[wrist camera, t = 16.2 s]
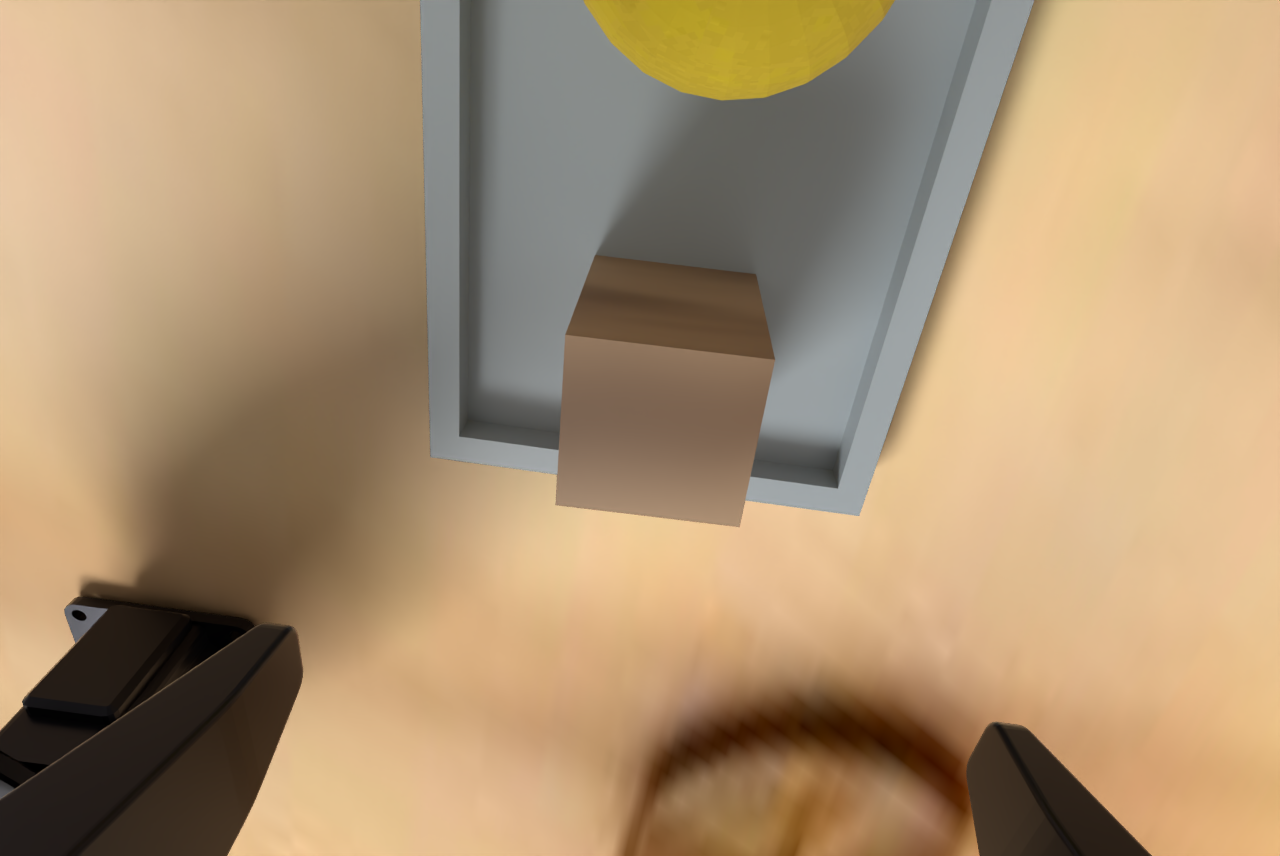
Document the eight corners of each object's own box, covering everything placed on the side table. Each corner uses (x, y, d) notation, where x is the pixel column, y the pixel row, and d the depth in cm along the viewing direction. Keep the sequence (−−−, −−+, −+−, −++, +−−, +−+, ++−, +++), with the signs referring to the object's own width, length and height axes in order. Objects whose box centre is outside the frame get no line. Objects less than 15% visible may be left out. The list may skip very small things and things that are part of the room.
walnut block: (729, 414, 20) (739, 527, 16) (584, 397, 21) (555, 504, 16) (755, 273, 18) (775, 360, 14) (595, 254, 18) (565, 334, 14)
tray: (849, 485, 22) (859, 515, 21) (446, 429, 22) (430, 457, 21) (1122, -360, 13) (1169, -398, 12) (437, -461, 13) (408, -512, 12)
